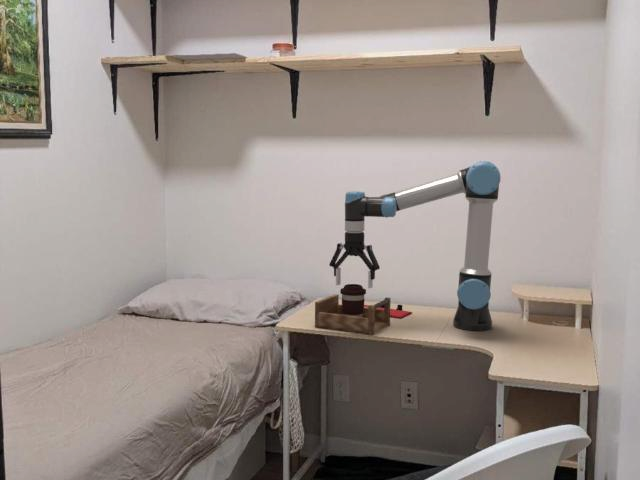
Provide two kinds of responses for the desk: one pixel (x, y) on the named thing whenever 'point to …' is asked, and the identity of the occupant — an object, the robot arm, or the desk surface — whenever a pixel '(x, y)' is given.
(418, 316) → the desk surface
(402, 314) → the red board with handle
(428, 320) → the desk surface
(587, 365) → the desk surface
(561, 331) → the desk surface
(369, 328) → the wooden crate
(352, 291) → the coffee cup
